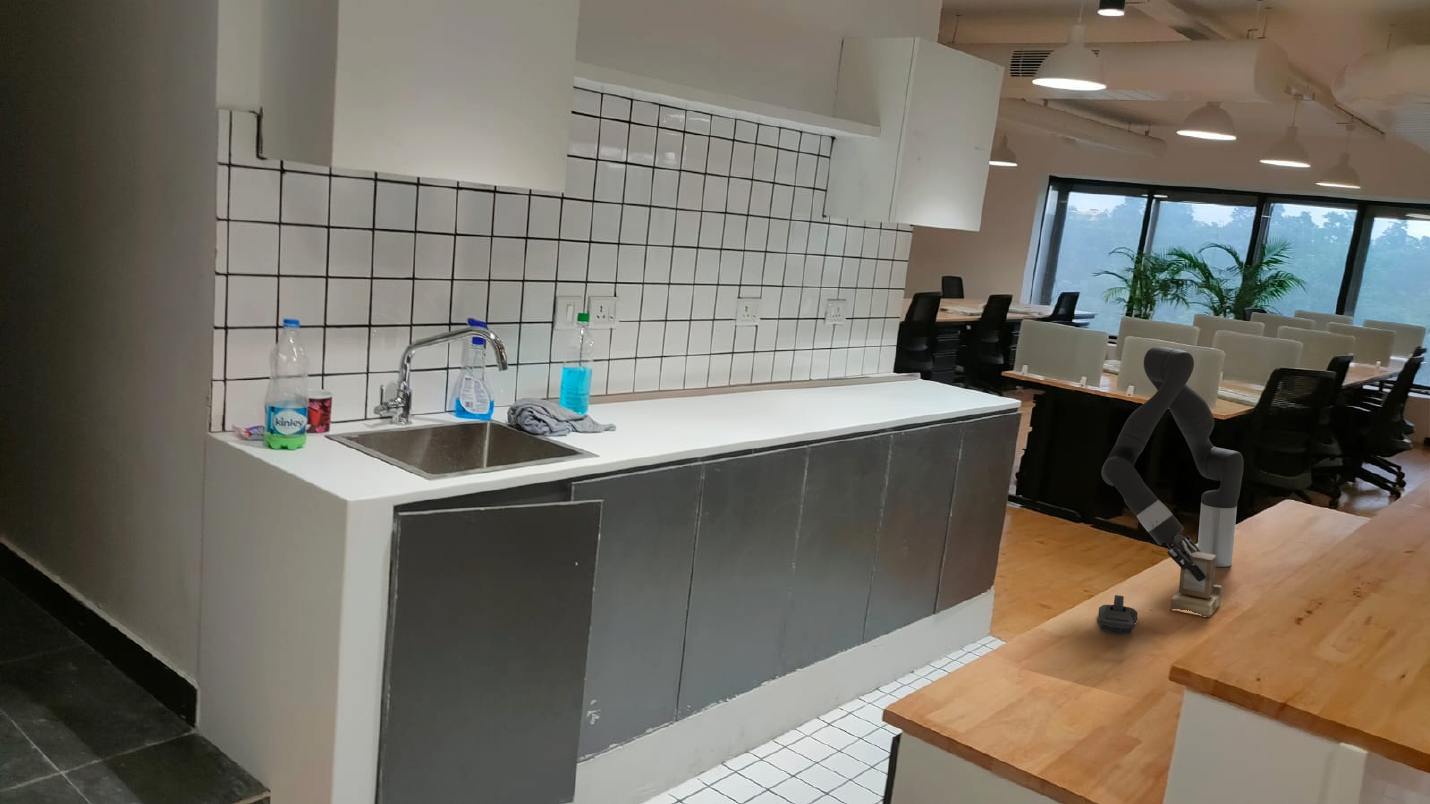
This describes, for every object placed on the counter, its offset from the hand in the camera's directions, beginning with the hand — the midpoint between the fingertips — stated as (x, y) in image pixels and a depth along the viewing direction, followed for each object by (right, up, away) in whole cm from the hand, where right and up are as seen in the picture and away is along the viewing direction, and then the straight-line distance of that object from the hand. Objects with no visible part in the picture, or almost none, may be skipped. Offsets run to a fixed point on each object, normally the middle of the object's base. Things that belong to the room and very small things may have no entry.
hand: (1205, 576), depth 268 cm
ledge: (-1, -8, +2) cm, 9 cm away
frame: (-2, -4, +2) cm, 5 cm away
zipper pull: (-27, -11, -13) cm, 32 cm away
